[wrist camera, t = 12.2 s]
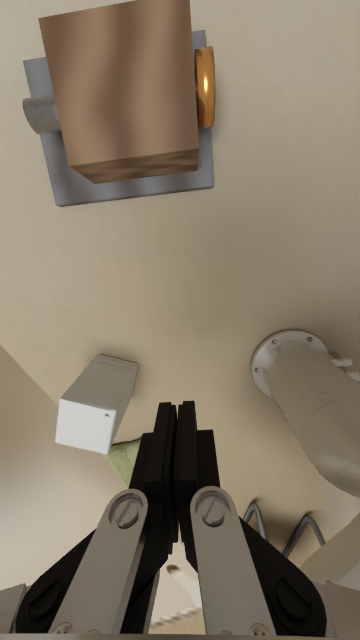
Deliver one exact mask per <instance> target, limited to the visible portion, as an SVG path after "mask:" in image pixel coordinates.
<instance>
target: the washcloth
mask: <svg viewBox="0 0 360 640" xmlns="http://www.w3.org/2000/svg"><path fill="white" fill-rule="evenodd" d="M140 442H141V438H140V439H139V440H138V441H133V442H131V443H127V442H126V443H122V444H120V445H114V446H111V448H110V450H109V452H108V461H109V463H110V464H111V466H112V467H113V468H114V470H115V471H116V472H117V474H118V476H119V477H120V479H121V481H122V482H123V484H124V486H125V487H126V489H128V488H129V484H130V480H131V476H132V472H133V469H134V465H135V461H136V457H137V453H138V449H139V446H140Z"/></svg>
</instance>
